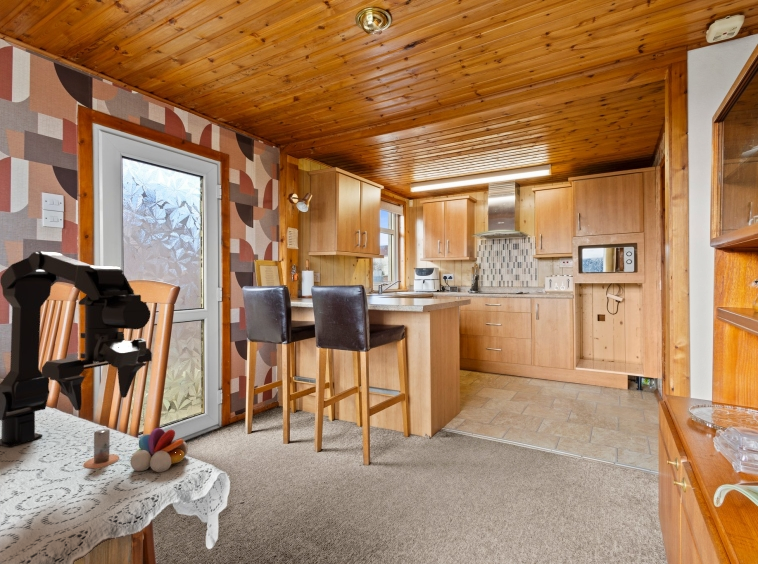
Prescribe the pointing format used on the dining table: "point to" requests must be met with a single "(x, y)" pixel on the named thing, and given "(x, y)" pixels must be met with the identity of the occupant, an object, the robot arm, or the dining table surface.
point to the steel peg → (101, 446)
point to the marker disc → (91, 463)
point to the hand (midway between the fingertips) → (102, 403)
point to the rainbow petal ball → (158, 451)
